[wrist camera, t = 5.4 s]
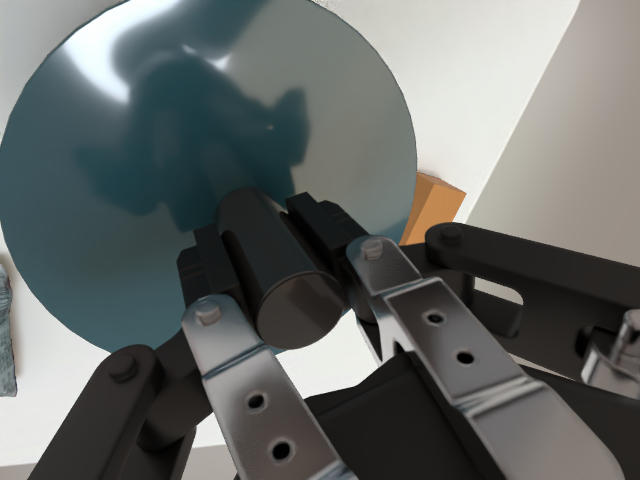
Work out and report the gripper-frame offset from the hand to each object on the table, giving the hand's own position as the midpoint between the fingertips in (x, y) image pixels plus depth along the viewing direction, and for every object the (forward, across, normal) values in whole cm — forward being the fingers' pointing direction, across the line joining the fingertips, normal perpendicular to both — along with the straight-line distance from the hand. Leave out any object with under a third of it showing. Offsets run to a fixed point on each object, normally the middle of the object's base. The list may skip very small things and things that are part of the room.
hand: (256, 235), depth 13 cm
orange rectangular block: (+20, -18, +15) cm, 31 cm away
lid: (+2, 0, 0) cm, 2 cm away
